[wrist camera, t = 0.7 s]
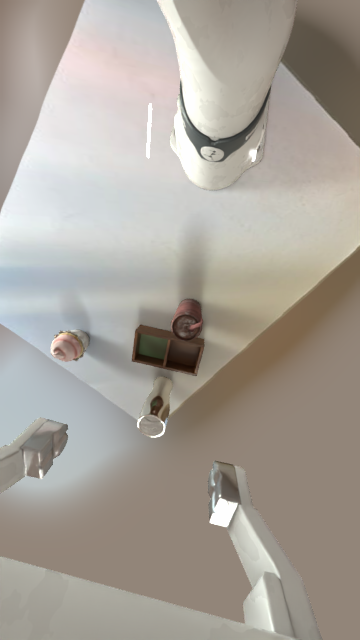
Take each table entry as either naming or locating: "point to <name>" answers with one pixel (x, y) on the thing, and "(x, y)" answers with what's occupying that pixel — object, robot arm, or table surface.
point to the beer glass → (156, 408)
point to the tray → (167, 350)
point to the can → (187, 320)
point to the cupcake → (69, 345)
